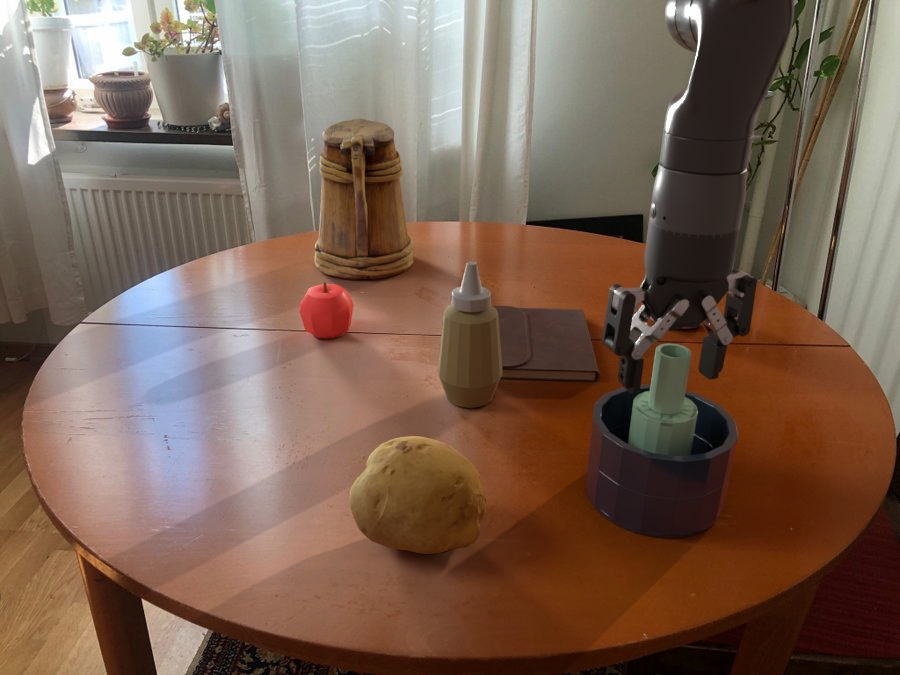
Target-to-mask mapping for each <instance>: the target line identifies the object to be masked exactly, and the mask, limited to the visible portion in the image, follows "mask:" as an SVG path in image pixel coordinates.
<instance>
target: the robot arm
mask: <svg viewBox="0 0 900 675" xmlns="http://www.w3.org/2000/svg"><path fill="white" fill-rule="evenodd" d="M794 17H795V0H666V3H665V9H664V20H665V21H664V22H665V26H666V29H667V31H668V33H669V35H670V37H671V38H672V40H673V41H674V42H675V43H676V44H677V45H679V46H680V47H681V48H683V49H685V50H686V51H688V52H692V53H694V54H695V57H694V62H693V65H692V69H691V73H690V75H689V76H690V77H689V80H688V84H687V87H686V89H684V90H681V91H679V92H677V93H676V94H675V95H674V96H673V97H672V98H671V99H670V101H669V102H668V105H667V108H666V113H665V116H664V123H663V131H662V137H661V138H662V139H661V146H660V154H659V163H658V169H657V172H656V175H655V179H654V183H653V187H652V195H651V201H650V208H649V217H648V224H647V225H648V226H647V232H646V233H647V234H646V241H645V250H644V257H643V264H644V271H645V275H644V277H643V280H642V282H641V284H640V286H637V287H624V286H623V285H622V284H620V283H615V284H613V285H612V286H611V287H610V288H609V292H608V299H607V305H606V311H605V317H604V324H603V330H602V336H601V343H602V344H603V345H604V346H605V347H607V348H608V349H609V351H611V352H612V353H613V354H614V355H615V356H617V357H619V361H618V370H617V371H618V372H617V380H618V382H619V383H620V384H621V385H622V387H625V388H626V389H627V390H628V391H629V392H630V393H637V392H639V391H640V386H641V385H642V377H643V371H644V362H645V358H644V357H643V356H644V355H645V354H646V352H648V350H649V348H651V346H652V345H653V344H654V343H657V342H660V341H661V339H662V338H663V337H664V336H665V334H667V332H668V331H669V332H672V331H673V332H674V331H678V330H682V329H681V328H683V327H691V328H690V329H694V328H693V327H696V328H698V327H702V328H703V329H704V331H705V332H706V334H707V336H704V337H703V339H702V343H701V344H702V345H701V351H700V357H699V361H698V371H699V373H700V374H701V375H702V376H704V377H705V379H707V380H715V379H716V380H717V379H718V378H719V375H720V373H722V370H723V369H724V365H725V358H726V354H727V349H728V345H730V344H731V342H732V341H733V339H734V338H736V337H738V336H740V337H742V338H743V337H746V336H747V335H749V333H750V332H751V326H752V318H753V313H754V306H755V299H756V292H757V285H758V280H757V278H755V277H754V276H752V275H750V274H749V273H747V272H745V271H743V270H740V269H738V268H734V264H735V258H736V252H737V247H738V241H739V237H740V231H741V225H742V220H743V215H744V209H745V203H746V196H747V177H748V176H747V175H748V167H749V163H750V162H749V160H750V157H751V151H752V145H753V140H754V134H755V126H756V120H757V116H758V113H759V111H760V109H761V107H762V105H763V103H764V101H765V99H766V97H767V95H768V93H769V90H770V88H771V86H772V83H773V81H774V78H775V75H776V73H777V70H778V68H779V66H780V63H781V62H782V58H783V56H784V53H785V51H786V48H787V47H788V46H787V45H788V42H789V39H790V36H791V32H792V29H793V24H794ZM724 297H725V303H724V310H723V312H724V313H722V311H721V310H720V308H719V306H718V304H719V303H720V302H721V301H722V299H723V298H724ZM640 303H642V305H641V306H640V307H639V308H638V306H639V305H640ZM650 317H652V319H653V320H654V321H655V322H654V321H653V320H652V321H653V322H654V324H653V325H651V326H650V325H649V324H648V321H649V319H650ZM700 323H701V324H702V326H700Z"/></svg>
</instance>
